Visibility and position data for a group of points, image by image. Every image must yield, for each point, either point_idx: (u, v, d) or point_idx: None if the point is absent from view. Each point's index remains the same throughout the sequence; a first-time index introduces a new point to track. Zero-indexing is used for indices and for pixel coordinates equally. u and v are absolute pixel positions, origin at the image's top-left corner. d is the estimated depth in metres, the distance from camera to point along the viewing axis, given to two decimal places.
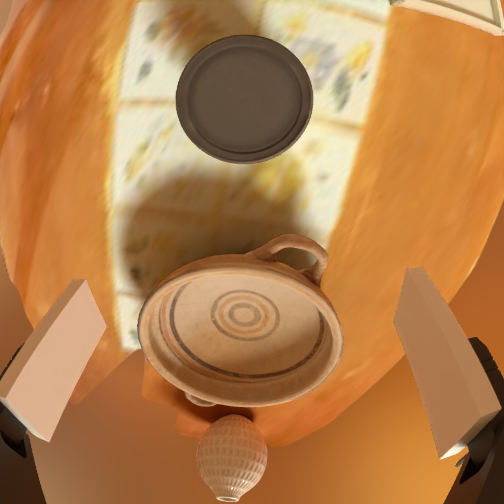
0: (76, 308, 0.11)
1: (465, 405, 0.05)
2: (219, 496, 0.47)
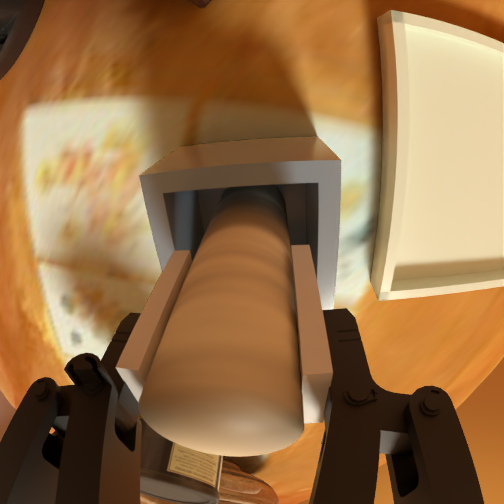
0: (184, 277, 0.12)
1: (300, 365, 0.08)
2: None
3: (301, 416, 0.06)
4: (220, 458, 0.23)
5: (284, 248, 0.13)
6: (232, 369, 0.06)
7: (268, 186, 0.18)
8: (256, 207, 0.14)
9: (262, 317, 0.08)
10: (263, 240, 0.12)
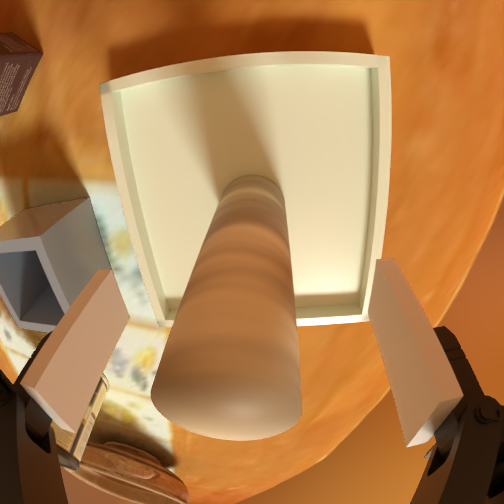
0: (103, 297, 0.11)
1: (426, 391, 0.06)
2: None
3: (299, 400, 0.07)
4: (79, 433, 0.27)
5: (283, 245, 0.13)
6: (237, 357, 0.07)
7: (268, 184, 0.19)
8: (257, 205, 0.15)
9: (263, 310, 0.09)
10: (263, 237, 0.12)
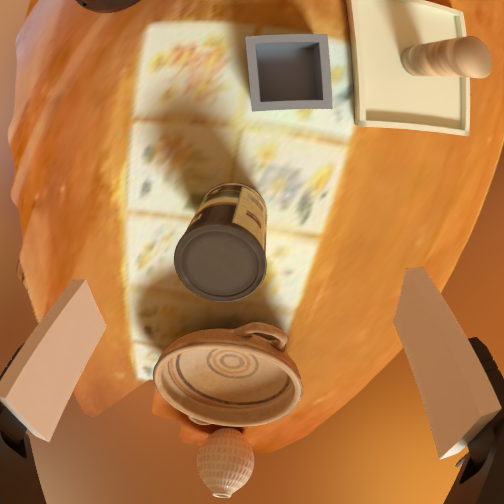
0: (76, 308, 0.11)
1: (465, 405, 0.05)
2: (215, 493, 0.60)
3: None
4: (265, 241, 0.36)
5: None
6: None
7: None
8: None
9: None
10: None
